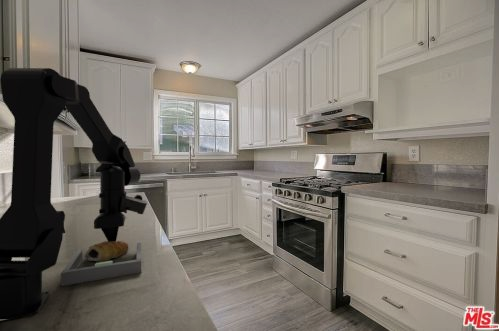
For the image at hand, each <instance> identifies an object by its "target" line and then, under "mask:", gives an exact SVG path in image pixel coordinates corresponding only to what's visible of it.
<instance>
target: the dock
mask: <svg viewBox="0 0 499 331" xmlns="http://www.w3.org/2000/svg"><path fill="white" fill-rule="evenodd" d="M135 257H136V259H134V260H133V259H132V260H127V261H121V262H120V261H119V262H114V261H113V260H107V261H105V262H103V261H102V262H96V263H95V264H94V265H92V266H85V267H80V268H79V266H80V265H81V263H82V261H83V249H79V250H76V252H75V253H74V254H73V255H72V257H71V259H70V260H69V261H68V263H67V264H66V265H65V266H64V268H63V269H62V271H61V272H60V287H64V286H68V285H74V284H75V285H76V284H81V283H86V282H92V281H97V280H98V281H99V280H105V279H111V278H115V277H117V278H118V277H121V276H128V275H134V274H138V273H142V242H137V243H136V256H135Z"/></svg>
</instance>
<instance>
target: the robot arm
mask: <svg viewBox="0 0 499 331" xmlns="http://www.w3.org/2000/svg"><path fill="white" fill-rule="evenodd" d="M0 88H1V95H2V102H3V103H4V105H5V106H6V107H7V108H8V110H9V112H10V114H11V115H12V117H13V118H14V119H13V120H14V126H13V127H14V128H13V129H14V130H13V149H12V151H13V152H12V173H11V196H10V205H9V207H8V208H7V209H6V210H5V212H4V213H3V214H2V215H1V217H0V319H10V320H14V319H19V318H23V317H29V316H33V315H36V314H38V313H39V311H40V309H41V308H43V305H44V304H45V302H46V301H47V300H48V298H49V297H50V296H51V291H44V292H43V272H44V271H47V269H50V268H52V267H53V266H55V265H57V262H58V261H57V260H58V258H59V254H60V250H61V246H62V242H63V235H64V234H66V230H65V219H66V213H65V212H64V210H57V209H56V208H55V207H54V206H53V204H52V195H51V194H52V178H53V177H52V176H53V174H52V171H53V148H54V125H55V121H56V120H57V119H58V117H60V115H61V114H62V113H63V112H64V110H65V109H66V110H67V111H68V112H69V113H70V115H71V116H72V118H73V119H74V120H75V122H76V123H77V124H78V125H79V127H80V128H81V130H82V132H84V133H85V135H86V136H87V138H88V139H89V140H90V142H91V144H92V146H91V152H92V154H93V156H94V158H95V159H96V161H97V162H98V163H99V164H100V165H99V166H98V167H97V168H95V173H100V175H99V176H100V177H99V179H100V181H99V182H100V184H99V185H100V186H99V187H100V188H99V189H100V190H99V191H100V193H99V194H98V198H100V208H99V210H98V212H99V215H98V216H96V217H95V219H94V220H93V229H94V230H98V229H99V230H101V231H102V233H103V234H104V236H105V239H106V241H107V242H109V241H116V242H117V238H118V234H119V228H120V227H121V228H122V227H124V226H125V222H126V218H127V217H126V216H125V215H124V214H127V213H128V212H129V211H130V212H134V213H137V214H138V215H144V213H145V210H146V208H147V205H148V202H147V201H146V200H143V196H142V195H141V194H136V195H135V196H134V197H133V196H127V191H125V190H126V188H125V187H127V186H132V185H136V184H137V183H139V181H140V180H141V173H140V170H139V169H137V167H136V164H135V161H134V158H133V155H132V153H131V151H130V148H129V147H128V145H127V144H126V142H124V140H123V138H121V137H119V136H117V135H115V134H114V133H113V132H112V131H111V129H110V128H109V126H108V125H107V123H106V120H104V118H103V117H102V115H101V113H100V111H99V110H98V109H97V107H96V105H95V104H94V102H93V101H92V99H91V95H90V91H89V89H88V88H87V87H86V86H85V85H81V84H78V82H77V81H76V80H74V79H71V78H69V77H66V76H62V75H61V74H60V73H59V72H58V71H57V70H55V69H53V68H50V67H43V68H42V67H11V68H8V69H6V70H3V71H2V72H1V75H0ZM13 258H14V259H15V258H16V259H19V258H20V259H21V258H22V259H24V258H26V259H27V260H13Z"/></svg>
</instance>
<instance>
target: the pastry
mask: <svg viewBox="0 0 499 331" xmlns="http://www.w3.org/2000/svg"><path fill="white" fill-rule="evenodd" d="M128 251H129V244H128V242H127V243H126V242H125V241H122V240H118V241H117V240H116V241H109V242H108V240H105V241H102V242H99V243H96V244H94V245H91V246H89V247H88V249H87V250H86V253H85V258H86V259H87V261H89V262H96V263H100V262H107V261H111V259H116V258H117V257H121V256H122V255H124V254H126V253H127V252H128Z"/></svg>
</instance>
